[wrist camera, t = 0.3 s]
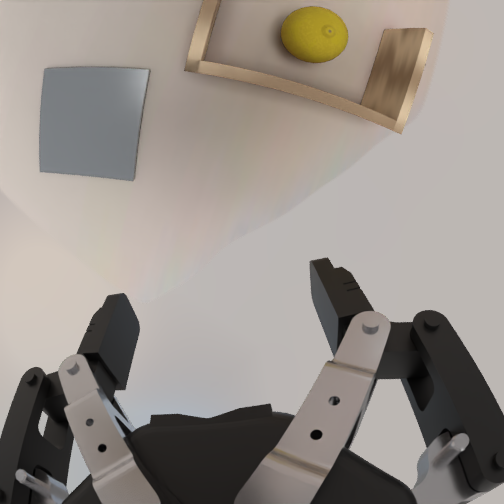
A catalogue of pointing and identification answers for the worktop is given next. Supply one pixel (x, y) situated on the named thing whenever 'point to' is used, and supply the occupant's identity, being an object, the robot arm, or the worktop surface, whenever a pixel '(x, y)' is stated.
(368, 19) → the worktop surface
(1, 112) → the worktop surface
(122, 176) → the slate coaster
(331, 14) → the lemon
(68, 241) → the worktop surface
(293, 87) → the open u-shaped oak frame
